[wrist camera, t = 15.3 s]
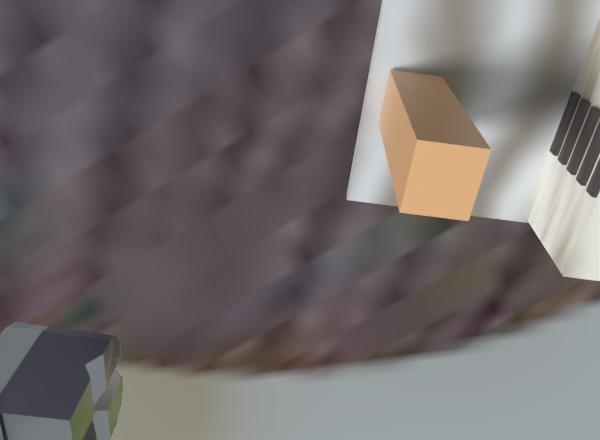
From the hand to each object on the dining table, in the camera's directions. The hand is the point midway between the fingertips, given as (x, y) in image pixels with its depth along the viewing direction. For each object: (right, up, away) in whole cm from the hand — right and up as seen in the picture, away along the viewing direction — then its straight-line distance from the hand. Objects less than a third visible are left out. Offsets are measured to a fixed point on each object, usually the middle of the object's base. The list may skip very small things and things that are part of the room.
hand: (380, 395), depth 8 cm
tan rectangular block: (+6, +11, +30) cm, 33 cm away
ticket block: (+15, +11, +31) cm, 36 cm away
